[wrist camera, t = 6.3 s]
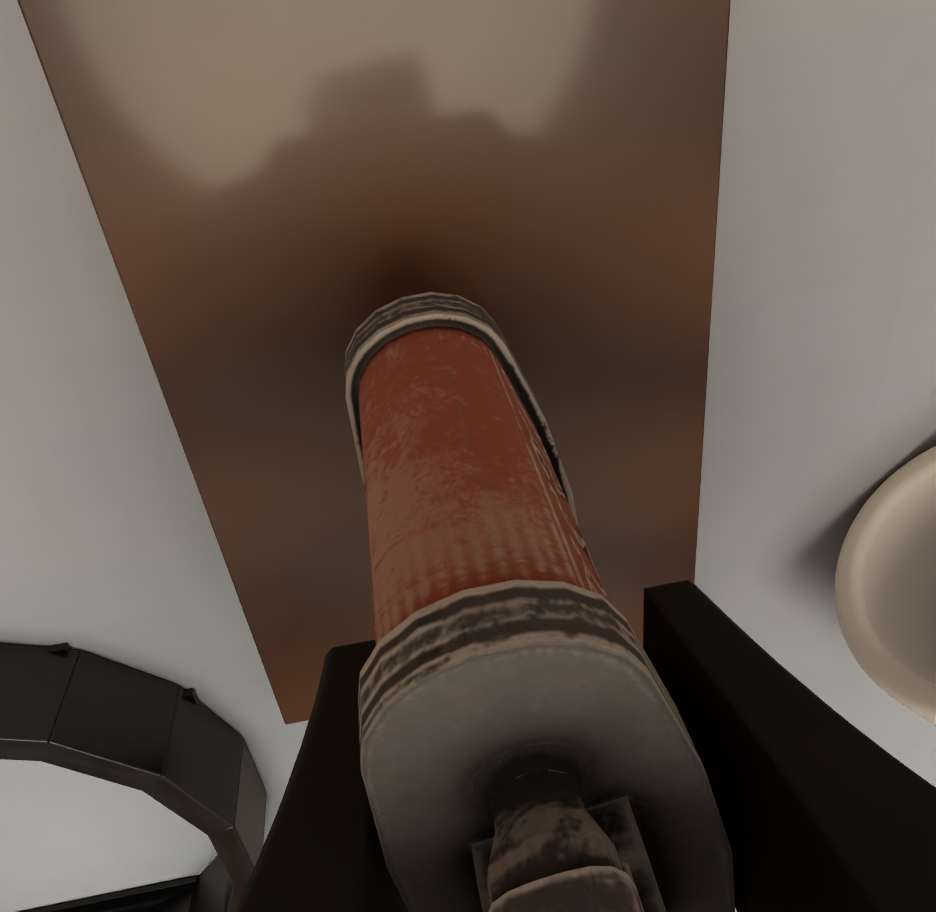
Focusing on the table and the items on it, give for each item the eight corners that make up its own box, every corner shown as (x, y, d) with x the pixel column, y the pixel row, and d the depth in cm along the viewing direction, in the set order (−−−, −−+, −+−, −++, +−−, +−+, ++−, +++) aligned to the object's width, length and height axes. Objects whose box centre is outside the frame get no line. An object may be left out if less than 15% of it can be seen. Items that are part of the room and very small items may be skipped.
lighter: (298, 331, 12) (241, 1115, 4) (505, 262, 12) (871, 926, 4) (448, 661, 17) (564, 1355, 9) (600, 613, 17) (867, 1269, 9)
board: (676, 617, 25) (691, 646, 24) (286, 692, 24) (285, 725, 23) (715, -230, 13) (746, -244, 12) (-10, -139, 13) (-38, -146, 12)
